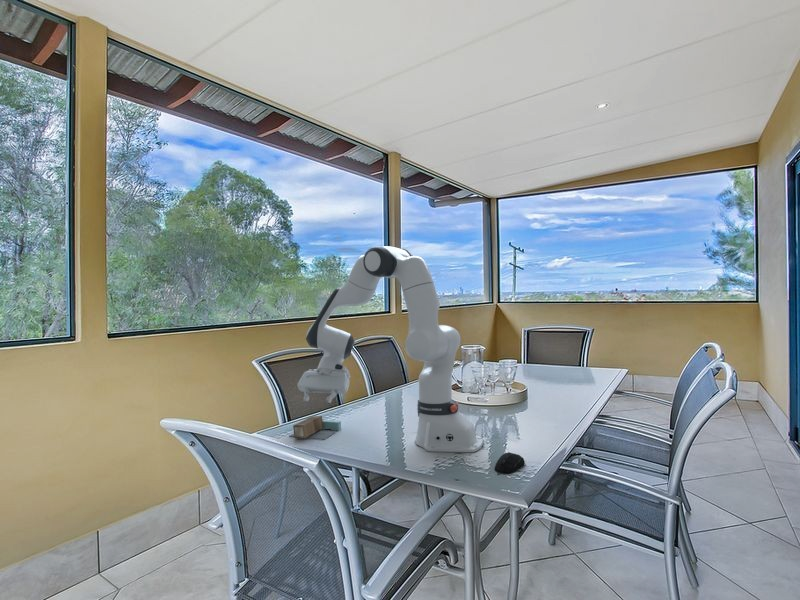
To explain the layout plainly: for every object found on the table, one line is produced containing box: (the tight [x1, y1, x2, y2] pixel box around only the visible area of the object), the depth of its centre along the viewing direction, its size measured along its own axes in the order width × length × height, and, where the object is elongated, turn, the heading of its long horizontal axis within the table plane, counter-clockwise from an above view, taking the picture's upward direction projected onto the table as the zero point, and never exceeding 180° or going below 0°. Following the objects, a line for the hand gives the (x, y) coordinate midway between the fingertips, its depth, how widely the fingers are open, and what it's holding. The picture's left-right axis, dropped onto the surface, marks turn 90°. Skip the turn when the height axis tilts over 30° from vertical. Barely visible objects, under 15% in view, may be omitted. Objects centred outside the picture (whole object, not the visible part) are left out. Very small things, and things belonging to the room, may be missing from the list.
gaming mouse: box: [494, 451, 526, 476], centre depth 128 cm, size 6×15×4 cm, turn 141°
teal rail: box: [321, 419, 342, 431], centre depth 170 cm, size 14×2×3 cm, turn 71°
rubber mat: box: [288, 429, 337, 441], centre depth 163 cm, size 14×9×1 cm, turn 71°
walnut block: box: [292, 415, 323, 439], centre depth 163 cm, size 4×4×12 cm
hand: (316, 401), depth 168 cm, fingers open, 8 cm apart
